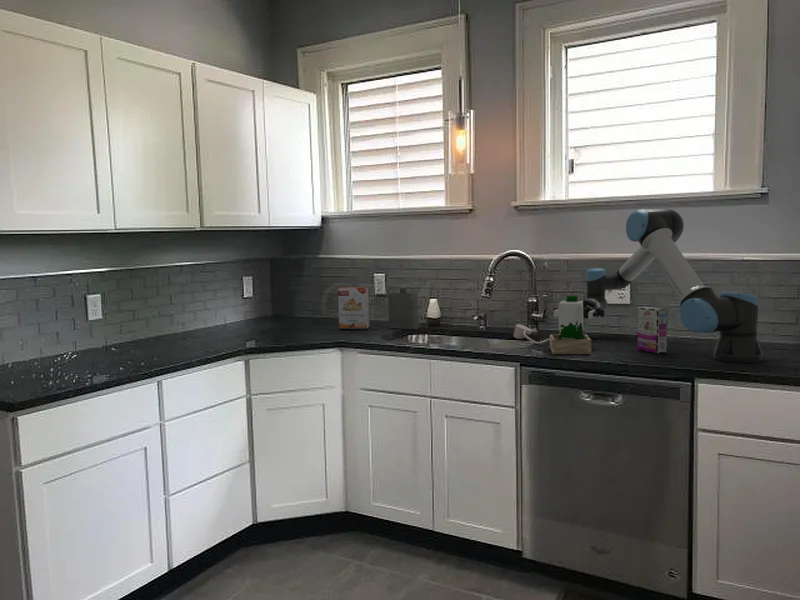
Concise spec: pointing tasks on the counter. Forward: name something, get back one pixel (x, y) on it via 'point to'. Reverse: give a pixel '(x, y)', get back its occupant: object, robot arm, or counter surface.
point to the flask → (403, 309)
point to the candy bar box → (652, 329)
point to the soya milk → (571, 319)
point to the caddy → (570, 345)
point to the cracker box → (353, 307)
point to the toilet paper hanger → (524, 333)
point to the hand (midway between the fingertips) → (571, 314)
